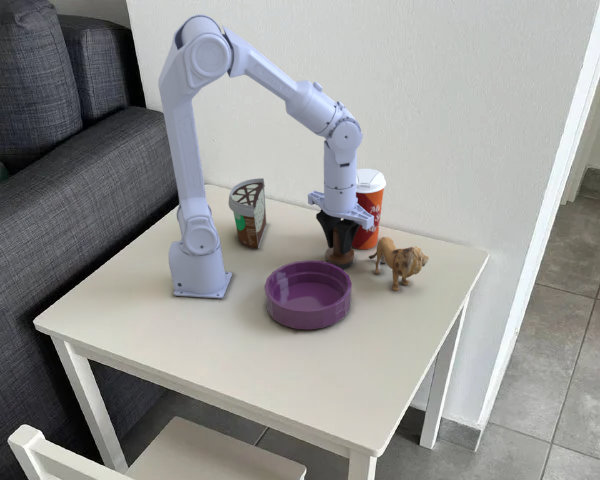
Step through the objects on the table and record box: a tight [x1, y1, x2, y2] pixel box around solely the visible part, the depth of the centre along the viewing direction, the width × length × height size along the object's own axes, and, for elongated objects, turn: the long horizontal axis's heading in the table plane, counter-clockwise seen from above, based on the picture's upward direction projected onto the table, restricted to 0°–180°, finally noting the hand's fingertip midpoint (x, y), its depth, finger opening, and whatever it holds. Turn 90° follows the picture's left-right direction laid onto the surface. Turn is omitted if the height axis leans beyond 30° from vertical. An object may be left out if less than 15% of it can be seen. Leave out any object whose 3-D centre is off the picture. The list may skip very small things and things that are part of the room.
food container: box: [228, 177, 267, 250], centre depth 126 cm, size 12×6×10 cm, turn 172°
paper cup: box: [351, 168, 387, 250], centre depth 122 cm, size 8×8×14 cm
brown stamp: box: [325, 227, 355, 271], centre depth 119 cm, size 6×6×7 cm
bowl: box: [264, 259, 353, 331], centre depth 111 cm, size 15×15×4 cm
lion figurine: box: [368, 236, 430, 292], centre depth 115 cm, size 15×5×9 cm, turn 33°
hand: (339, 248), depth 120 cm, fingers closed on brown stamp, 2 cm apart
